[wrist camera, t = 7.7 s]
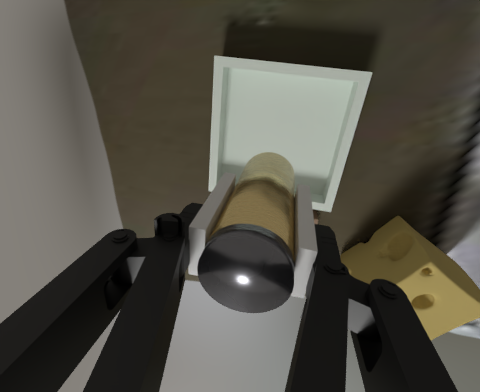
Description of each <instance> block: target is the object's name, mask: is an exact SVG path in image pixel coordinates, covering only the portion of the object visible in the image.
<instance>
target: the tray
mask: <svg viewBox="0 0 480 392" xmlns="http://www.w3.org/2000/svg"><path fill="white" fill-rule="evenodd" d="M371 76H372V72H365V71H355V70H346V69H336V68H327V67H318V66H308V65H299V64H289V63H280V62H271V61H261V60H252V59H242V58H233V57H224V56H214V77H213V100H212V123H211V146H210V168H209V191H213V189H214V188H215V186H216V185H217V183H218V182H219V180H220V179H221V177H222V176H223V174H224V173H225V172H227V173H233V174H236V181H235V186H236V184H237V182H238V180H239V178H240V176H241V174H242V172H243V170H244V168H245V166H246V164H247V162H248V161H249V160H250V159H251V158H252V157H254V156H255V155H257V154H260V153H264V152H273V153H277V154H279V155H281V156H283V157H285V158H286V159H287V160H288V161H289V162H290V164H291V165H292V167H293V170H294V174H295V193H296V189H297V184H301V185H308V186H310V193H311V201H312V209H315V210H321V211H327V212H331V209H332V206H333V203H334V199H335V196H336V193H337V189H338V186H339V183H340V179H341V176H342V173H343V169H344V166H345V163H346V159H347V156H348V153H349V149H350V146H351V143H352V139H353V136H354V133H355V129H356V126H357V123H358V119H359V116H360V112H361V109H362V106H363V102H364V99H365V96H366V92H367V89H368V86H369V82H370V79H371Z"/></svg>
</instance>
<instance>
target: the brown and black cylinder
mask: <svg viewBox="0 0 480 392" xmlns="http://www.w3.org/2000/svg"><path fill="white" fill-rule="evenodd" d="M294 198H295V174H294V170H293V167H292V165H291V164H290V162H289V161H288V160H287V159H286V158H285V157H283V156H281V155H279V154H277V153H273V152H264V153H260V154H257V155H255V156H254V157H252V158H251V159H250V160H249V161H248V162H247V164H246V166H245V168H244V170H243V172H242V174H241V176H240V178H239V180H238V182H237V184H236V186H235V188H234V190H233V192H232V194H231V196H230V198H229V200H228V202H227V204H226V206H225V208H224V210H223V212H222V214H221V216H220V218H219V220H218V222H217V224H216V226H215V228H214V230H213V232H212V234H211V236H210V238H209V240H208V242H207V244H206V246H205V248H204V250H203V252H202V254H201V256H200V258H199V261H198V267H197V272H198V277H199V280H200V283H201V285H202V286H203V288H204V289H205V291H206V292H207V293H208V294H209V295H210V296H211V297H212V298H213V299H214V300H216V301H217V302H218V303H220V304H222V305H224V306H226V307H228V308H230V309H233V310H236V311H240V312H247V313H261V312H267V311H270V310H273V309H275V308H277V307H279V306H281V305H282V304H283V303H284V302H286V301H287V300H288V298H289V297H290V295H291V294H292V291H293V288H294Z"/></svg>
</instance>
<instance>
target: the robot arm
mask: <svg viewBox="0 0 480 392" xmlns="http://www.w3.org/2000/svg"><path fill="white" fill-rule="evenodd" d="M235 181H236V174H233V173H227V172H225V173H224V174H223V176H222V177H221V179H220V180H219V182H218V183H217V185H216V186H215V188H214V189H213V191H212V192H211V194H210V195H209V197H208V198H207V200H206V201H205V203H204V204H203V205H202V204H197V203H191V204H189V205H187V206H186V207H185V208H184V209H183V211H182V212H181V213H180V214H175V213H166V214H162V215H160V216H158V217H156V218H155V219H154V226H155V237H153V238H136V233H135V232H134V231H132V230H129V229H119V230H115V231H112V232H110V233H108V234H107V235H106V236H104V237H103V238H102V239H101V240H100V241H99V242H97V243H96V244H95V245H94V246H93V247H91V248H90V249H89V250H88V251H86V252H85V253H84V254H83V255H82V256H81V257H79V258H78V259H77V260H76V261H75V262H73V263H72V264H71V265H70V266H69V267H67V268H66V269H65V270H64V271H63V272H61V273H60V274H59V275H58V276H57V277H55V278H54V279H53V280H52V281H51V282H49V283H48V284H47V285H46V286H45V287H44V288H42V289H41V290H40V291H39V292H38V293H36V294H35V295H34V296H33V297H32V298H30V299H29V300H28V301H27V302H26V303H24V304H23V305H22V306H21V307H20V308H19V309H17V310H16V311H15V312H14V313H12V314H11V315H10V316H9V317H8V318H6V319H5V320H4V321H3V322H2V323H1V324H0V392H57V391H58V390H59V389H60V388H61V386H62V385H63V383H64V382H65V381H66V380H67V378H68V377H69V376H70V374H71V373H72V372H73V371H74V369H75V368H76V367H77V365H78V364H79V363H80V362H81V360H82V359H83V358H84V356H85V355H86V354H87V352H88V351H89V350H90V348H91V347H92V346H93V345H94V343H95V342H96V341H97V339H98V338H99V337H100V335H101V334H102V333H103V332H104V330H105V329H106V328H107V326H108V325H109V324H110V322H111V321H112V320H113V319H114V317H115V316H116V315H117V313H118V312H119V311H120V313H119V315H118V317H117V319H116V321H115V323H114V326H113V328H112V330H111V332H110V334H109V336H108V338H107V341H106V343H105V345H104V347H103V349H102V351H101V354H100V356H99V358H98V360H97V362H96V364H95V367H94V369H93V371H92V373H91V376H90V378H89V380H88V382H87V384H86V386H85V388H84V390H83V392H159V389H160V385H161V381H162V377H163V372H164V368H165V364H166V360H167V355H168V351H169V347H170V342H171V338H172V334H173V329H174V325H175V321H176V317H177V312H178V308H179V303H180V299H181V295H182V290H183V286H184V282H185V271H186V270H187V268H188V266H189V274H192V275H197V276H198V272H197V267H198V261H199V258H200V256H201V254H202V252H203V250H204V248H205V246H206V244H207V242H208V240H209V238H210V236H211V234H212V232H213V230H214V228H215V226H216V224H217V222H218V220H219V218H220V216H221V214H222V212H223V210H224V208H225V206H226V204H227V202H228V200H229V198H230V196H231V194H232V192H233V190H234V188H235ZM305 293H306V298H307V299H306V302H305V305H304V308H303V312H302V315H301V323H300V327H299V331H298V335H297V340H296V344H295V349H294V353H293V358H292V362H291V366H290V370H289V375H288V379H287V384H286V388H285V392H345V384H346V383H345V381H346V357H347V331H348V329H349V330H351V336H352V339H353V344H354V348H355V351H356V356H357V359H358V364H359V368H360V371H361V375H362V380H363V384H364V388H365V392H458V391H457V389H456V387H455V385H454V383H453V381H452V380H451V378H450V376H449V374H448V372H447V370H446V368H445V366H444V364H443V363H442V361H441V359H440V357H439V355H438V353H437V351H436V349H435V348H434V346H433V344H432V342H431V340H430V338H429V336H428V334H427V333H426V331H425V329H424V327H423V325H422V323H421V321H420V319H419V318H418V316H417V314H416V312H415V310H414V308H413V306H412V305H411V303H410V301H409V299H408V297H407V295H406V294H405V292H404V291H403V290H402V289H401V288H400V287H399V286H397V285H396V284H394V283H392V282H391V281H388V280H385V279H374V280H372V281H371V283H370V284H368V283H365V282H363V281H361V280H358V279H356V278H354V277H353V276H351V275H350V273H349V269H348V268H347V267H346V266H345V265H344V264H343V263H341V259H340V255H339V250H338V246H337V242H336V238H335V233H334V232H333V231H332V229H331V228H330V227H329V226H323V225H318V224H314V217H313V209H312V201H311V193H310V186H308V185H301V184H297V189H296V193H295V198H294V288H293V291H292V294H291V295H290V296H295V297H299V298H304V296H305ZM120 309H121V310H120Z"/></svg>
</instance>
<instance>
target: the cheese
mask: <svg viewBox="0 0 480 392" xmlns="http://www.w3.org/2000/svg"><path fill="white" fill-rule="evenodd" d="M340 259H341V263H343V264H344V265H345V266H346V267H347V268H348V269H349V273H350V275H351V276H353V277H354V278H356V279H358V280H361V281H363V282H365V283H368V284H370V283H371V281H372V280H374V279H385V280H388V281H391V282H392V283H394V284H396V285H397V286H399V287H400V288H401V289H402V290H403V291H404V292H405V294H406V295H407V297H408V299H409V301H410V303H411V305H412V306H413V308H414V310H415V312H416V314H417V316H418V318H419V319H420V321H421V323H422V325H423V327H424V329H425V331H426V333H427V334H428V336H429V338H430V340H433V339H434V338H436V337H438V336H440V335H442V334H444V333H446V332H448V331H450V330H452V329H454V328H456V327H459V326H461V325H463V324H466V323H468V322H470V321H472V320H475V319H477V318H480V290H479V288H478V287H477V285H476V284H475V283H474V282H473V280H472V279H471V278H470V277H469V276H468V275H467V273H466V272H465V271H464V270H463V269H462V268H461V267H460V266H459V265H458V264H457V263H456V262H455V261H454V260H452V259H451V258H450V257H449V256H447V255H446V254H445V253H443V252H442V251H441V250H440V249H438V248H437V247H436V246H435V245H433V244H432V243H431V242H429V241H428V240H427V239H426V238H424V237H423V236H422V235H420V234H419V233H418V232H417V231H416V230H414V229H413V228H412V227H411V226H410V225H409V224H408V223H407V222H406V221H404V220H403V219H402V218H401V217H400V216H396V217H395V218H393V219H392V220H390V221H389V222H388V223H386V224H385V225H384V226H382V227H381V228H380V229H378V230H377V231H376V232H375V233H374V234H373V236H372V237H371V239H370V240H369V241H368V242H367V243H365V244H364V243H362V242H360V243H358V244H357V245H355V246H353V247H352V248H350V249H349V250H347V251H345V252H344V253H342V254H341V258H340Z"/></svg>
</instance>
